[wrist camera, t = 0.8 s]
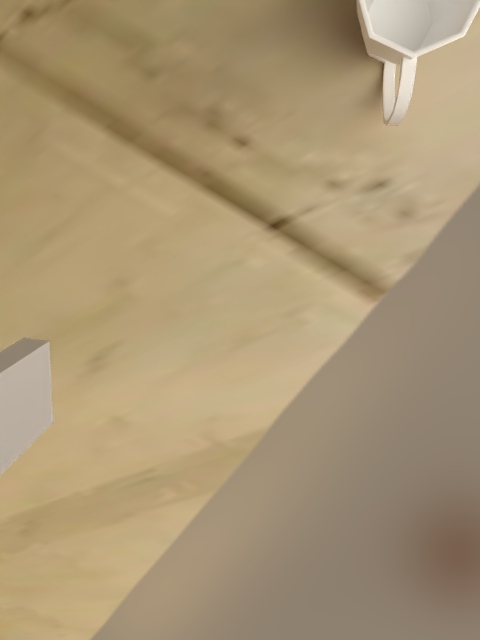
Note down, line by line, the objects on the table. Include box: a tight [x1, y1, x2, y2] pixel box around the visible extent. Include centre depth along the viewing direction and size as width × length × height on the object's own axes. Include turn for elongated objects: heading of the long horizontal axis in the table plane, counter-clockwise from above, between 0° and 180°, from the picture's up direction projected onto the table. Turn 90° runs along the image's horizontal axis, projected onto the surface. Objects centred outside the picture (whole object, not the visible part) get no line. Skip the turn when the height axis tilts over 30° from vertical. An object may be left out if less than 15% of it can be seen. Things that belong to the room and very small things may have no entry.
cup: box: [356, 0, 480, 126], centre depth 28 cm, size 7×10×8 cm
